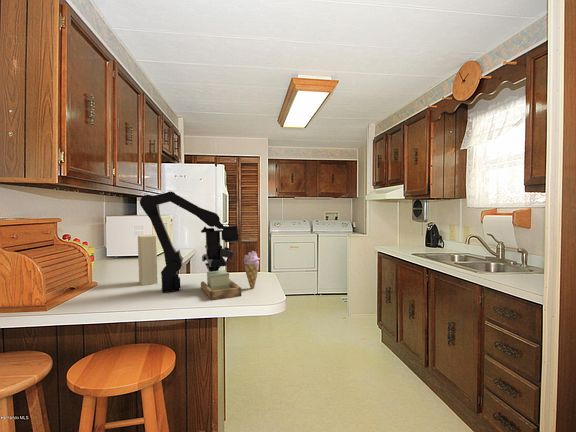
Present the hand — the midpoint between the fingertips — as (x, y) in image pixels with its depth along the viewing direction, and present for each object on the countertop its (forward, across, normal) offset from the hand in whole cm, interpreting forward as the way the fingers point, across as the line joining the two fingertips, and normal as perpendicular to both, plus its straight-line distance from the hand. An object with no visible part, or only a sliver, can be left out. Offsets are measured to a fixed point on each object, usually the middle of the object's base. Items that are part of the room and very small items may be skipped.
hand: (214, 280), depth 144 cm
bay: (+2, -10, 0) cm, 10 cm away
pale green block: (+1, -7, 0) cm, 7 cm away
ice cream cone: (+3, -11, -13) cm, 17 cm away
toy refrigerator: (+3, +23, +24) cm, 33 cm away
